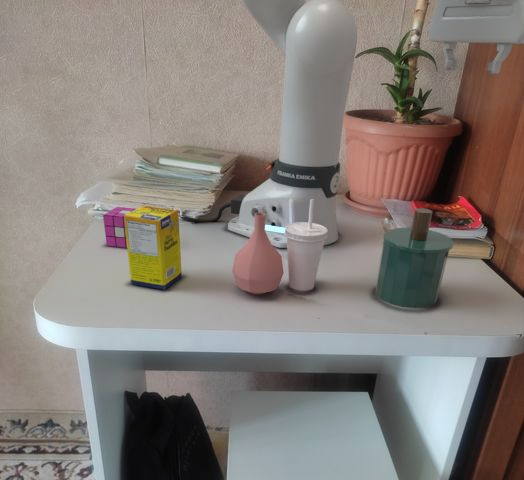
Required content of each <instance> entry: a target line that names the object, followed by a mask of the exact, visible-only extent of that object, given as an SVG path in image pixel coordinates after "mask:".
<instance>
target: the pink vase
mask: <svg viewBox="0 0 524 480" xmlns="http://www.w3.org/2000/svg"><path fill="white" fill-rule="evenodd" d="M232 274H233V278H234V282H235V284H236V286H237V287H238V289H240V290H242V291H243V292H244V291H245V292H248V293H250V294H252V295H256V296H258V295H259V296H260V295H264V294H265V293H270V292H273V291H275V290H277V289H278V288H279V286H280V284H281V282H282V279H283V276H284V264H283V255H282V254H281V253H280V252H279V251H278V250H277V248H276V247H275V246H273V245H272V244H271V243H270V240H269V238H268V236H267V234H266V232H265V214H264V213H255V226H254V231H253V233H252V235H251V237H249V239H248V240H247V242H246V243H245V245H244V246H243V247H241V248H240V249H239V250H238V251H237V252H236V254H235V256H234V261H233V265H232Z"/></svg>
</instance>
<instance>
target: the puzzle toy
mask: <svg viewBox="0 0 524 480" xmlns="http://www.w3.org/2000/svg"><path fill="white" fill-rule="evenodd" d="M136 209H138V208H136V207H125V206H115V207H114V208H112V209H110V210H109V211H108V212H106V213H104V214H103V215H102V218H103V225H104V226H103V227H104V234H105V235H104V236H105V243H106V246H107V247H112V248H113V247H114V248H123V249H127V240H126V231H125V222H124V216H125V214H127V213H129V212H131V211H134V210H136Z"/></svg>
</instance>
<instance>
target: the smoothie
mask: <svg viewBox="0 0 524 480" xmlns="http://www.w3.org/2000/svg"><path fill="white" fill-rule="evenodd" d="M313 207H314V199H310V209H309V221H308V222H297V223H291V224H289V225H287V226H286V227H285V233H284V234H285V236H286V237H287V248H286V249H287V250H286V252H287V265H288V266H287V269H288V283H289V284H288V285H289V286H288V287H289V289H292V290H295V291H300V292H305V291H310V290H313V289H314V287H315V284H316V279H317V274H318V269H319V266H320V262H321V258H322V257H321V256H322V252H323V248H324V246H325V245H324V240H325V239H326V238H327V232H328V230H327V228H325V227H324V226H322V225H319V224H315V223H312V219H313Z"/></svg>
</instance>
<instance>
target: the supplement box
mask: <svg viewBox="0 0 524 480" xmlns="http://www.w3.org/2000/svg"><path fill="white" fill-rule="evenodd" d="M135 209H136V208H135ZM179 218H180V215H179V211H178V210H173V209H170V208H166V207H160V206H143V205H142V206H140V207H138V208H137V209H136V210H134V211H131V212H129V213H127V214H125V216H124V222H125V231H126V240H127V248H126V249H127V258H128V266H129V275H130V277H129V278H130V284H131V285H136V286H142V287H146V288H153V289H158V290H163V291H165V290H166V289H168V288H170V286H171V285H173V284H174V283H175V282H177V281H178V280H179V279H180V278H181V277H183V276H182V275H183V273H182V253H181V235H180V234H181V233H180V219H179Z"/></svg>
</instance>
